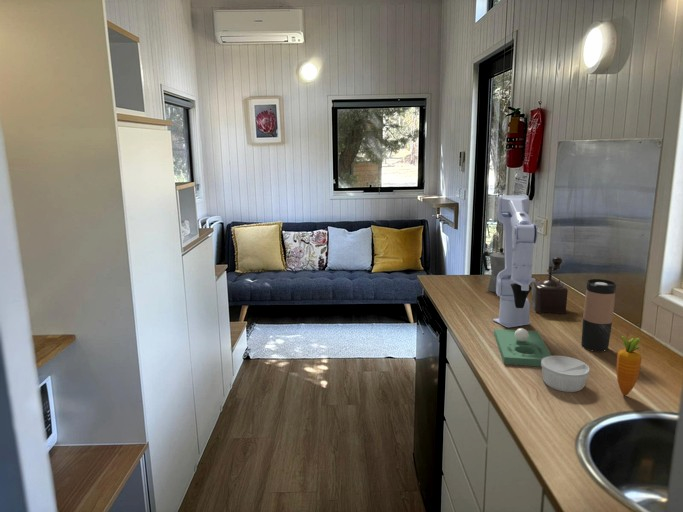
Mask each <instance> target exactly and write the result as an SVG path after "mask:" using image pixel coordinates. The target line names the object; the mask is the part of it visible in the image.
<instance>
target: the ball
mask: <svg viewBox="0 0 683 512" xmlns="http://www.w3.org/2000/svg"><path fill="white" fill-rule="evenodd" d="M515 330H516V331H515V334H514V336H515V338H516V340H518V341H520V342H524V341H526V340H527V339H528V337H529V334H528V331H529V330H527V329H525V328H523V327H520V328H519V327H518V328H517V329H515Z"/></svg>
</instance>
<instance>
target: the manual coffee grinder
mask: <svg viewBox="0 0 683 512" xmlns="http://www.w3.org/2000/svg"><path fill="white" fill-rule="evenodd" d="M551 263H552V264H553V265H548V269H546V272H547V273H548V278H547V279H544V280H541V281H540V280H539V281H538V280H536V281H535V282H532V285H531V288H532V289H531V304H530V306H531V307H532V310H533V311H534V313H536V314H549V315H550V314H551V315H566V314H567V303H568V302H567V301H568V294H569V293H568V292H569V291H568V288H567V287H566V286H565V284H564V283H562V281H561V279H559V280H556V279H554V278H552V276H553V272H554V271H555V272H558V271H559V270H561V269H562V268H561V266H562V265H563V263H564V259H562V258H561V257H560V256H559V257H553V258H552V259H551Z"/></svg>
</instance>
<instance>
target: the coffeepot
mask: <svg viewBox="0 0 683 512" xmlns="http://www.w3.org/2000/svg"><path fill="white" fill-rule="evenodd" d="M486 256H487V257H489V261H490V268H488V262H487V257H486ZM481 260H482V264H483V268H484V270H485V271H486V272H490V271H491V275H490V279H489V283H488V288H487V290H488V291H489V292H491V293H495V294H496V282H497V275H498V273H499V272H501V271H502V270H504V269H505V252H504V248H503V247H499V252H493V251H484V252H483V253H482V254H481Z"/></svg>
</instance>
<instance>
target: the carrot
mask: <svg viewBox="0 0 683 512" xmlns="http://www.w3.org/2000/svg"><path fill="white" fill-rule="evenodd" d="M621 339H622V341H623V344H624V346H625V348H624V349H620V350H618V352H617V356H616V368H615V369H616V379H617V383H618V384H617V385H618V387H619V389H620V393H621V394H622V395H623V396H624V395H626V396H627V395H629V393H631V392H632V390H633V388H634V387H635V385H636V383H637V380H638V378H639V375H640V370H641V365H642V356H641V354H640V353H639V351H637V350H638V349H640V348H641V346H639V345H638V344H639V343H640V342H641V339H640V338H639V337H636V338H635V337H632V338H630V339H629V340H628V341H627V339H626V336H624V335H622V336H621Z"/></svg>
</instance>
